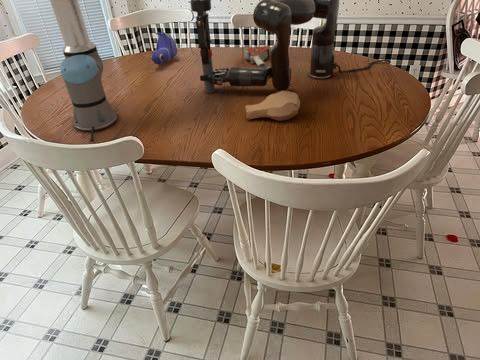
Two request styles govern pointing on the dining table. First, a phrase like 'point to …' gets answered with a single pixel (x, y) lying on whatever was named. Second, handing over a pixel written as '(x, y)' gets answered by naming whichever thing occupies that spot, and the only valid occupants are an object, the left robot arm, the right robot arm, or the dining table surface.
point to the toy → (164, 49)
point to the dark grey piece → (208, 71)
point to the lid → (208, 52)
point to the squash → (275, 106)
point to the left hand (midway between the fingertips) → (206, 61)
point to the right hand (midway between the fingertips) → (202, 76)
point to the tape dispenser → (257, 55)
